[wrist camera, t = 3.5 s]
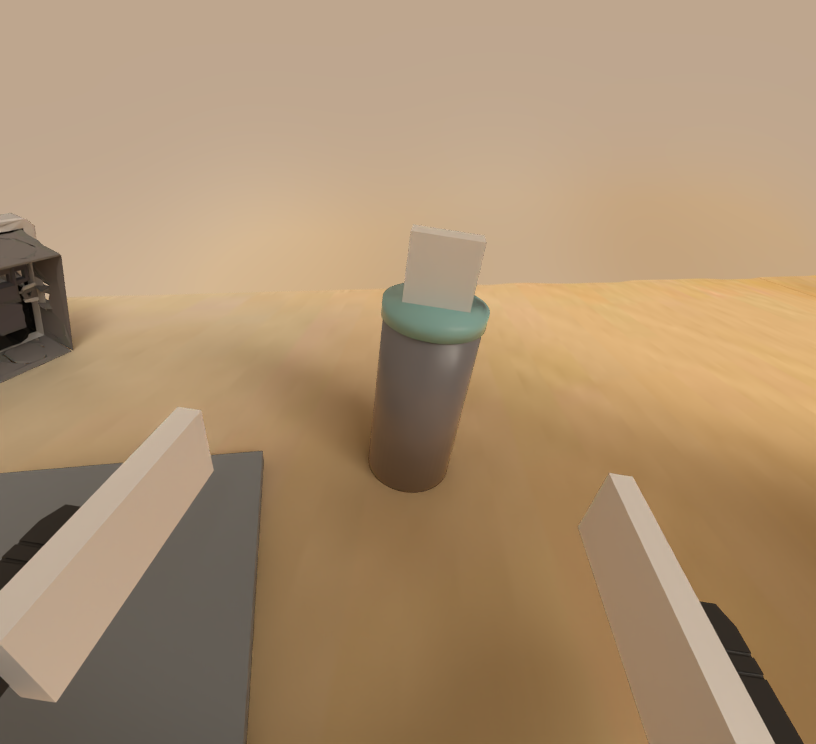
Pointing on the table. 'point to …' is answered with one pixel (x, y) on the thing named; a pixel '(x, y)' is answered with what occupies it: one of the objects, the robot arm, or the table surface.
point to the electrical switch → (30, 300)
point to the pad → (155, 619)
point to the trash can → (426, 358)
